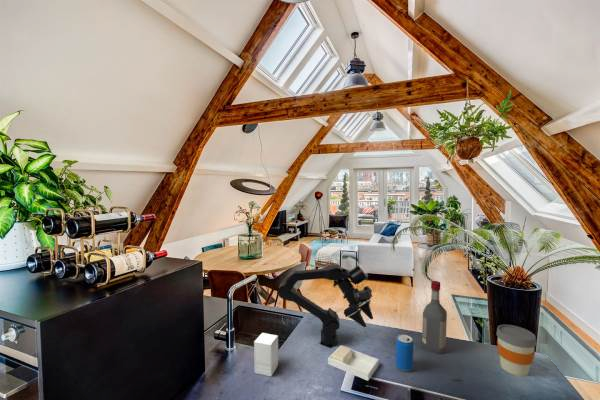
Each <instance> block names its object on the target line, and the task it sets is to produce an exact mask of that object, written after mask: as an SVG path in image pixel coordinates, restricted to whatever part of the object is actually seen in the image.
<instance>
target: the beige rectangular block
mask: <svg viewBox="0 0 600 400" xmlns="http://www.w3.org/2000/svg"><path fill="white" fill-rule="evenodd" d="M340 346H341V347H340ZM340 346H339V347H340V348H339V347H338V348H339V349H338V348H337V349H338V350H337V349H336V350H337V351H336V350H335V351H336V352H335V351H334V352H335V353H334V352H333V353H334V354H333V353H332V354H333V355H332V354H331V355H332V359H335V360H337V361H340V362H342V363H345V364H347V363H348V362H349V361H350V359H351V358H352V350H353V349H352V348H350V347H348V346H345V345H340Z"/></svg>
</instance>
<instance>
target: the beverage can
mask: <svg viewBox="0 0 600 400" xmlns="http://www.w3.org/2000/svg"><path fill="white" fill-rule="evenodd" d="M395 339H396V340H395V367H397V369H399V370H400V371H402V372H411V371H412V370H413V369H414V341H413V337H411V336H410V335H407V334H398V335H397V337H396V338H395Z"/></svg>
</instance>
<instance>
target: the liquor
mask: <svg viewBox="0 0 600 400" xmlns="http://www.w3.org/2000/svg"><path fill="white" fill-rule="evenodd" d="M430 283H431V284H430V289H431V297H430V302H429V303H428V304H426V305H425V307H424V309H423V312H422V324H421V325H422V329H421V331H422V332H421V346H422V348H423V349H424V350H425V351H426V352H431V353H434V354H436V355H441V354H444V353H445V351H446V347H447V323H448V322H447V318H448V313H447V310H446V309H445V308H444V307H443V306H442V304H441V302H440V291H441V281H439V280H431V282H430Z"/></svg>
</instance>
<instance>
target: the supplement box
mask: <svg viewBox="0 0 600 400" xmlns="http://www.w3.org/2000/svg"><path fill="white" fill-rule="evenodd" d="M253 346H254V347H253V351H254V352H253V353H254V354H253V357H254V359H253V360H254V362H253V363H254V364H253V365H254V374H256V375H257V374H258V375H262V376H265V377H266V376H267V377H272V376H273V375H274V373H275V371H276V370H277V368H278V366H279V335H276V334H272V333H271V334H270V333H266V332H261V334H259V336H258V337H257V338H255V340H254V341H253Z"/></svg>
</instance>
